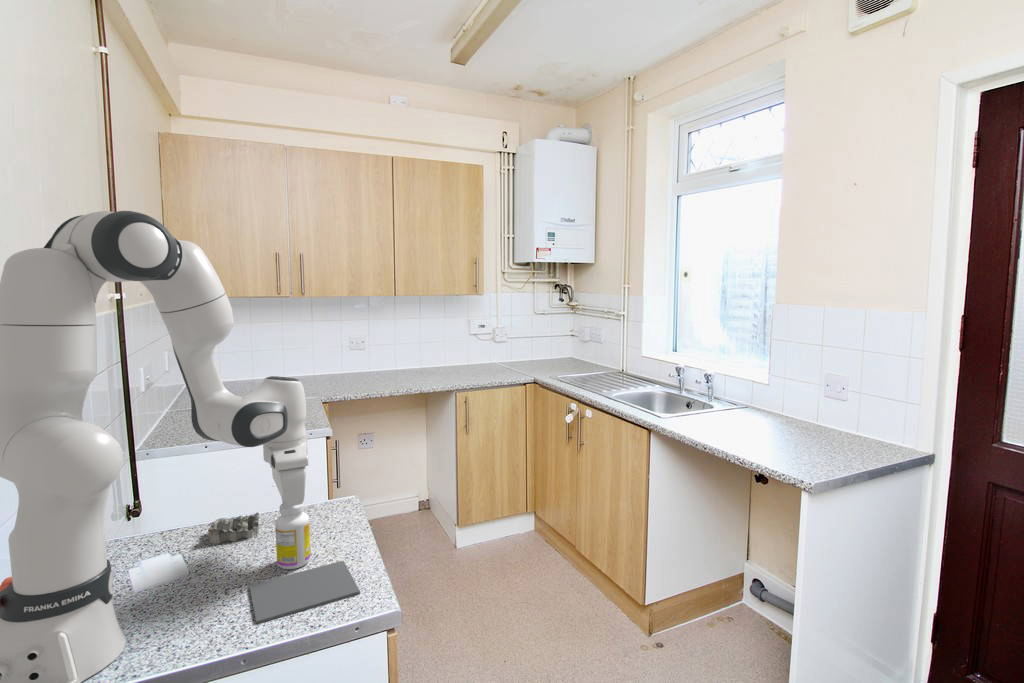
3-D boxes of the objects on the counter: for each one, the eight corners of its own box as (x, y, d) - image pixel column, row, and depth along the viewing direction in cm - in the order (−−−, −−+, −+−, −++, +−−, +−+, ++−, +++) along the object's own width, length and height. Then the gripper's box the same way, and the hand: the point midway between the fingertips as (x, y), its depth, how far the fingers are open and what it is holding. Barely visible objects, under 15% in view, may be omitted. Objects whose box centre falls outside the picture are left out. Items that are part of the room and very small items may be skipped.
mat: (256, 624, 91) (256, 621, 91) (249, 587, 102) (249, 584, 102) (359, 593, 101) (359, 591, 101) (343, 562, 112) (343, 560, 112)
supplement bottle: (303, 551, 116) (301, 495, 115) (316, 562, 112) (314, 504, 110) (272, 562, 112) (269, 504, 110) (284, 574, 107) (281, 514, 106)
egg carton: (206, 547, 119) (205, 530, 118) (212, 532, 126) (211, 516, 125) (258, 539, 122) (257, 522, 122) (261, 525, 129) (260, 509, 129)
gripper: (263, 439, 121) (266, 497, 122) (276, 465, 103) (279, 532, 105) (293, 436, 124) (295, 492, 126) (310, 460, 107) (312, 525, 108)
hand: (287, 511), depth 115 cm, fingers closed
